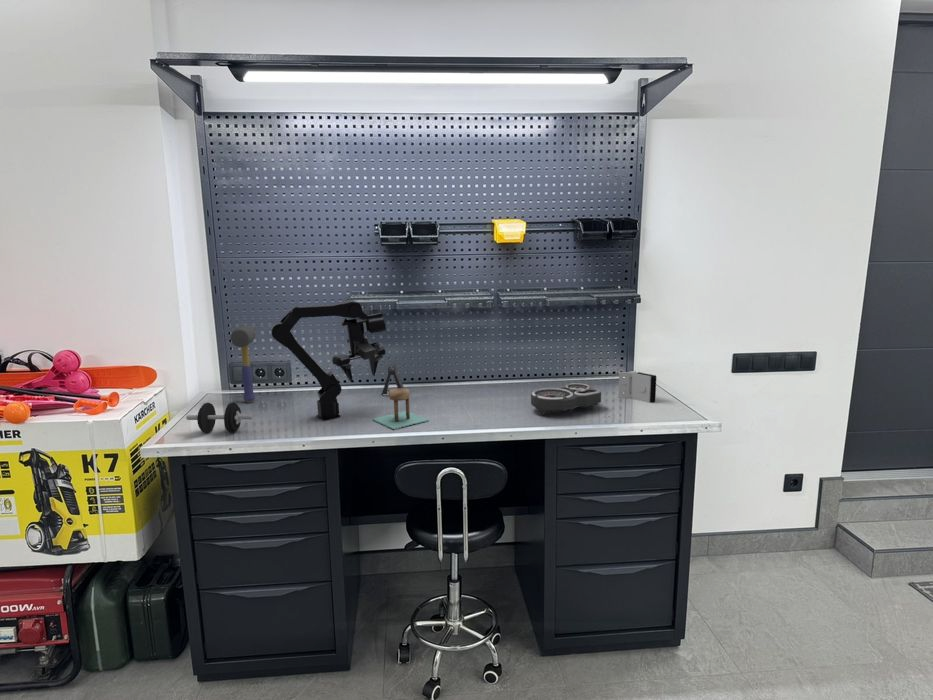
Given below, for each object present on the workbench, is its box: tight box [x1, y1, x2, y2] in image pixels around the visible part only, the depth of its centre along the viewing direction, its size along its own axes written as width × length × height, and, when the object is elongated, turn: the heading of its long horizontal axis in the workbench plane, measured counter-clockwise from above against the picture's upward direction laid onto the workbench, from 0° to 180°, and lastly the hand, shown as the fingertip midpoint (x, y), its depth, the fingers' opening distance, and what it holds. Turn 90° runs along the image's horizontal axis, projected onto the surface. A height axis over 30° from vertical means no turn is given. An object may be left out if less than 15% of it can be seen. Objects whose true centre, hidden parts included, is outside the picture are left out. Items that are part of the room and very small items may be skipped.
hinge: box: [617, 370, 657, 404], centre depth 216 cm, size 14×5×10 cm, turn 51°
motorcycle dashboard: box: [530, 382, 602, 417], centre depth 204 cm, size 26×16×7 cm, turn 120°
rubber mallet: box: [230, 324, 257, 404], centre depth 219 cm, size 12×8×30 cm, turn 8°
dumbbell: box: [185, 401, 254, 434], centre depth 186 cm, size 22×10×10 cm, turn 88°
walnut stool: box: [388, 388, 411, 422], centre depth 194 cm, size 7×7×10 cm
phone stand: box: [381, 362, 405, 396], centre depth 230 cm, size 9×6×12 cm, turn 91°
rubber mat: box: [372, 410, 430, 430], centre depth 195 cm, size 14×14×1 cm
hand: (362, 378), depth 203 cm, fingers open, 9 cm apart
